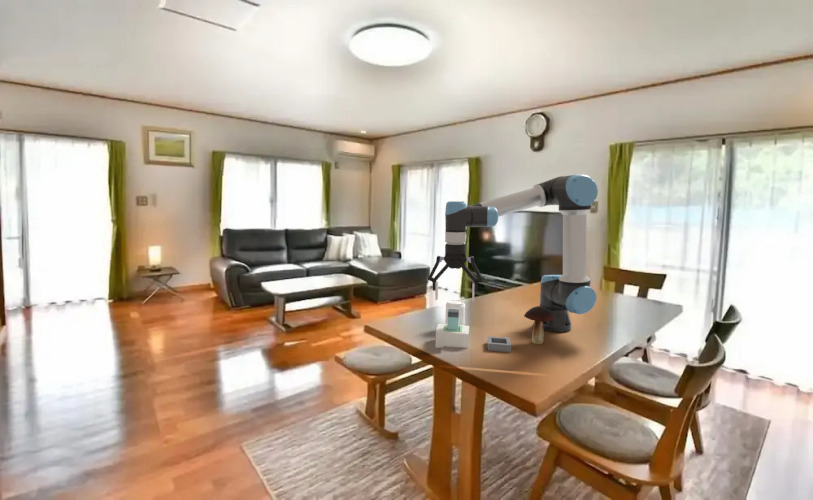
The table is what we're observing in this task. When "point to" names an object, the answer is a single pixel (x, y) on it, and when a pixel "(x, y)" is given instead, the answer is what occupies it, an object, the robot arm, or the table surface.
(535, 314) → the decorative mushroom
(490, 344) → the holster
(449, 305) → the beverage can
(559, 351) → the table surface
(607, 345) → the table surface
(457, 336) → the port block
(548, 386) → the table surface
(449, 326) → the light blue tall block
